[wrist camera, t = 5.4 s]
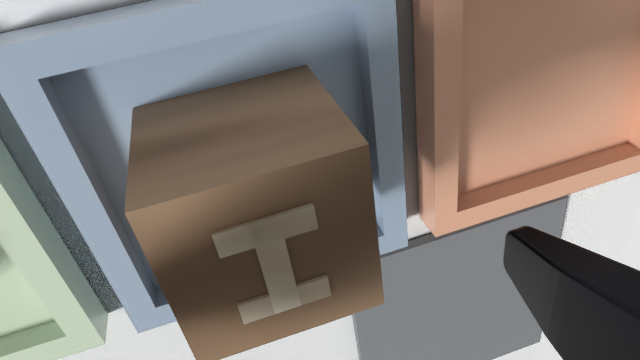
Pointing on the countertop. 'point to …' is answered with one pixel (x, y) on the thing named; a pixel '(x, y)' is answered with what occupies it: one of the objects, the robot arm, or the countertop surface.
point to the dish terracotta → (522, 103)
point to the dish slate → (185, 78)
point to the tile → (454, 294)
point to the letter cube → (254, 210)
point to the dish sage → (40, 280)
